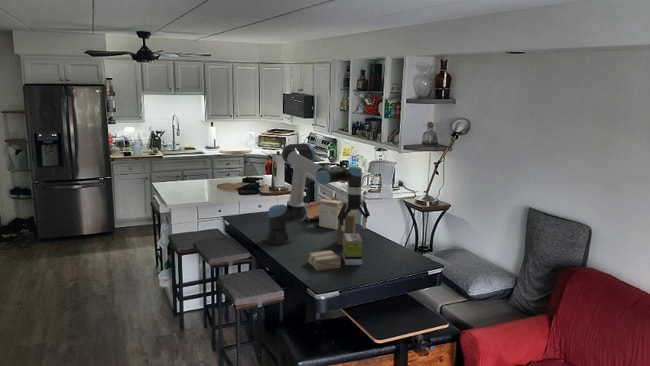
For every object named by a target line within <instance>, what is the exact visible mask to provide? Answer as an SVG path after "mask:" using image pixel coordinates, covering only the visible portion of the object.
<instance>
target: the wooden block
mask: <svg viewBox="0 0 650 366" xmlns="http://www.w3.org/2000/svg"><path fill="white" fill-rule="evenodd" d="M356 217H357V213H356V212H351V211H350V212H349V213H348V215H347V216H346V217H345V219H344V220H345V231H342V230H341V225H340V219H338V229H337V239H336V241H337V243H336V244H337V246H343V234H354V233H356Z"/></svg>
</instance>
